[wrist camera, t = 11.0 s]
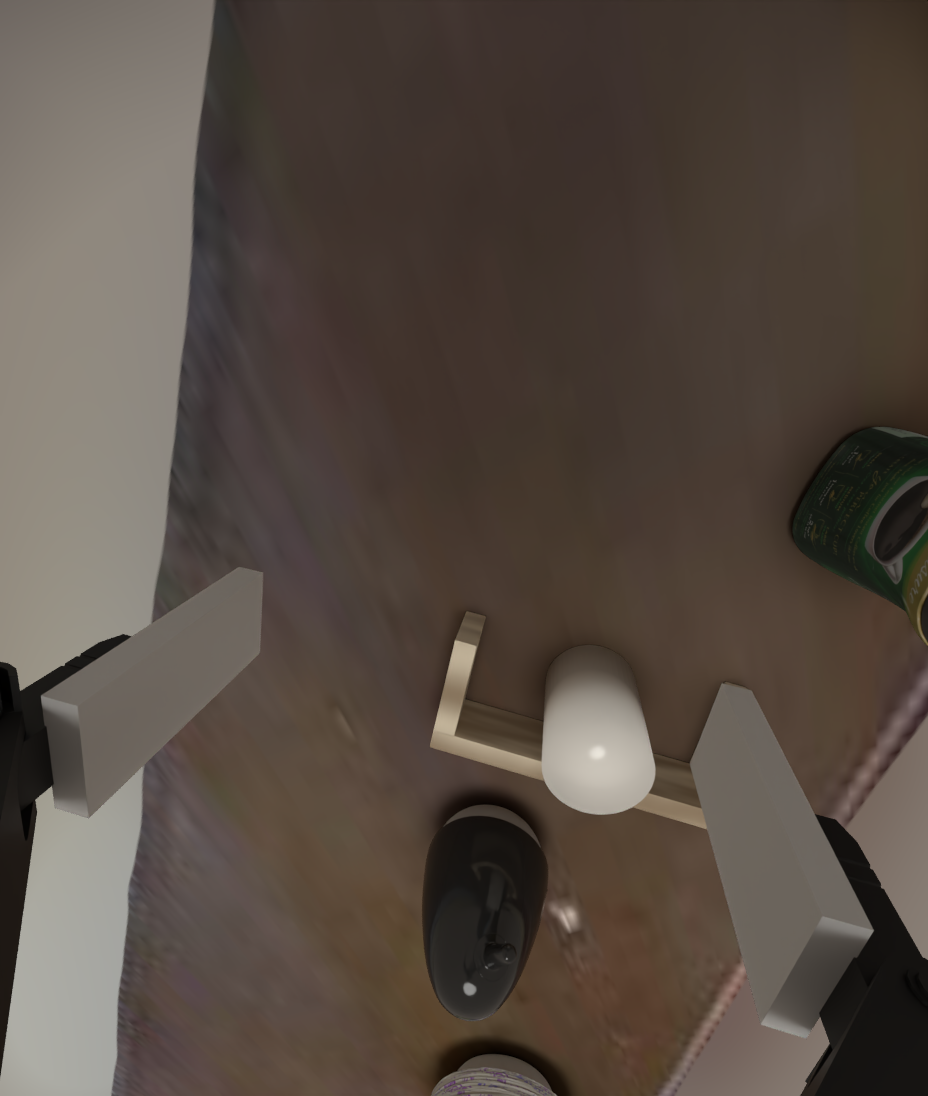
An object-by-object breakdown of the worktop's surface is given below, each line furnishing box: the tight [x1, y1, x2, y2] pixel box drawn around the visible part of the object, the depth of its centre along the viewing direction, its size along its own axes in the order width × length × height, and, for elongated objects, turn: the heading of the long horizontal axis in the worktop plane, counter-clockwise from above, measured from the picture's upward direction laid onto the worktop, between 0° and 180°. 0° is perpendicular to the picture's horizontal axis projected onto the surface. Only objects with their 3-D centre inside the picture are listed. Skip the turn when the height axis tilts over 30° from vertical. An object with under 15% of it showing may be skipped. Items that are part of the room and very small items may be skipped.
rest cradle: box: [430, 611, 747, 829], centre depth 43 cm, size 10×22×5 cm, turn 78°
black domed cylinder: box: [422, 805, 548, 1021], centre depth 44 cm, size 10×10×15 cm
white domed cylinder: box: [541, 645, 655, 815], centre depth 40 cm, size 7×7×10 cm
